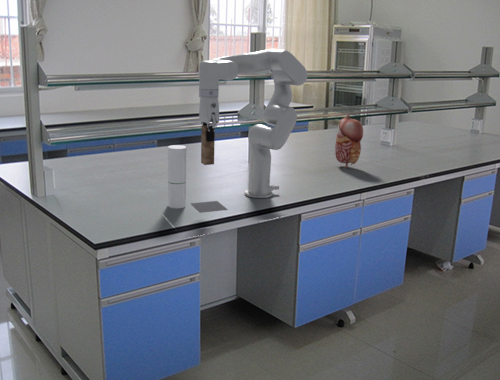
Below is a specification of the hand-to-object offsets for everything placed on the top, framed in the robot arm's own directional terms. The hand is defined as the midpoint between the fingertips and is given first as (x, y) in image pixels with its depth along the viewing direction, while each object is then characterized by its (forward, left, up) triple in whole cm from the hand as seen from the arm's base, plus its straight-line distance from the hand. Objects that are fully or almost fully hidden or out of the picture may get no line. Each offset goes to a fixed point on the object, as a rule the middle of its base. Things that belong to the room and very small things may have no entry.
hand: (207, 139), depth 208 cm
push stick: (0, 0, -10) cm, 10 cm away
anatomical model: (-98, -41, -28) cm, 110 cm away
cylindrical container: (+12, -3, -28) cm, 31 cm away
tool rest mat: (0, +2, -28) cm, 28 cm away
